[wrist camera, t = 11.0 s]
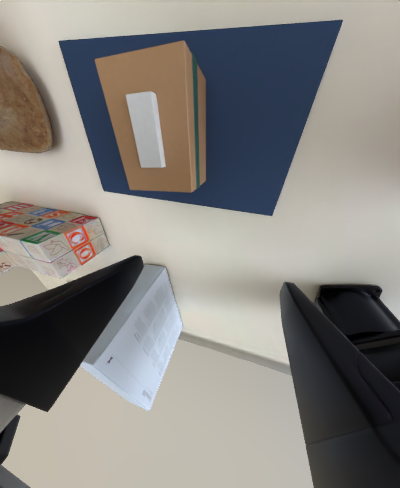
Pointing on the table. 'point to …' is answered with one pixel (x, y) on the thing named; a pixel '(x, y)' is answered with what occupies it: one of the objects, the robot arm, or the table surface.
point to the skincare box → (138, 339)
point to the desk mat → (221, 106)
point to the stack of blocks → (47, 239)
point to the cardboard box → (158, 116)
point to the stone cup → (21, 109)
